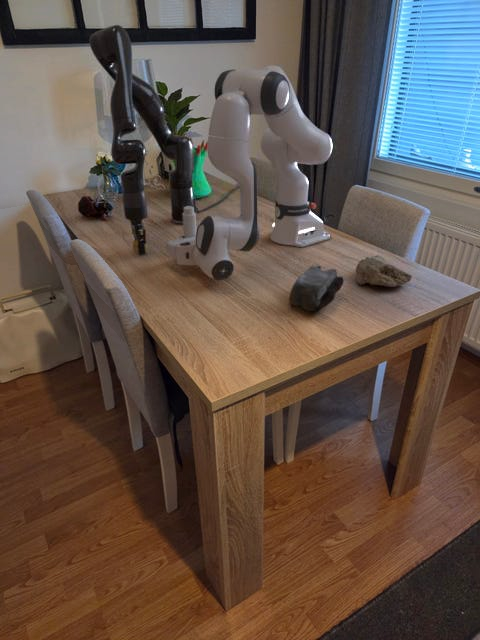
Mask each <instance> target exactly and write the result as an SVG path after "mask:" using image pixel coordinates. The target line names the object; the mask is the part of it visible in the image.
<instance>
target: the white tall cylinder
mask: <svg viewBox="0 0 480 640" xmlns="http://www.w3.org/2000/svg"><path fill="white" fill-rule="evenodd" d="M183 210H184V213H183V214H182V215H183V224H182V228H183V236H185V238H190V237H196V232H197V212H196V213H195V212H194V207H192V206H186V207H184V209H183Z"/></svg>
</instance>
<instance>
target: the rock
mask: <svg viewBox="0 0 480 640" xmlns="http://www.w3.org/2000/svg"><path fill="white" fill-rule="evenodd" d="M344 280H345V279H344V277H342V276H338V271H337V270H336V268H335V269H334V268H331V269H328V270H322V266H321V265H318V266H317V265H316V266H314V265H311V266H310V267H308V268H307V269H306V270H305V271H303V272H302V274H301V275H299V277H298V278H297V279H296V281H295V282H294V283H293V285H292V288H291V290H290V294H289V297H288V302H289V303H290V304H291V305H293V306H295V307H296V306H299V305H300V306H301V308H303V309H304V310H305V311H307V312H312V311H314V312H315V313H318V312H320V311H321V310H322V309H324V308H325V307H327V306H328V305H329V304H331V303H332V302H333V301H334V299H335V298H336V294H337V293H338V292H339V291H340V290H341V288H342V286H343V285H344Z"/></svg>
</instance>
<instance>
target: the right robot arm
mask: <svg viewBox="0 0 480 640" xmlns="http://www.w3.org/2000/svg"><path fill="white" fill-rule="evenodd" d="M213 91H214V98H215V102H214V104H213V108H212V112H211V116H210V121H209V127H208V136H207V142H208V145H207V157H208V159H209V162H210V163H211V165H212V166H213V167H214V168H215V169H217V170H218V171H219V172H221V173H223V174H224V175H226V176H228V177H230V178H231V179H233V180H234V181H235V182H236V183H237V185H238V186H239V187H240V188H239V200H240V204H239V205H240V214H239V216H238V217H233V216H221V215H220V216H219V215H218V216H216V215H207V216H206V217H204V218H203V219H202V220H201V222H200V223H199V224H198V225H197V227H196V230H197V232H196V237H190V238H185V236H184V235H180V236H179V239H177V238H176V239H172V240H167V241H166V242H165V252H166V254H167V256H169V257H170V258H171V259H172V260H175V261H176V262H177V264H178V266H179V265H180V266H196V267H199V269H200V270H202V272H203V273H204V274H205V276H206V275H207V276H208V277H209V278H210V279H212V280H215V281H223V280H227V279H228V278H229V277H230V276H232V274H233V273H234V271H235V265H234V262H233V260H232V259H231V257H230V254H229V251H237V252H247V253H248V252H250V251H251V250H252V249H254V248H255V246H256V245H257V244H258V243H259V240H260V226H259V219H258V175H257V173H258V172H257V168H256V165H255V163H254V162H253V161H251V158H250V152H249V142H250V141H249V140H250V129H251V123H250V122H251V115H256V116H257V115H259V116H261V115H262V116H263V117H264V120H265V122H266V124H267V126H268V127H267V128H266V129H265V130H264V132H263V133H262V136H261V139H260V149H261V152H262V154H263V155H264V156H265V158H267V159H268V161H269V162H270V164H271V166H272V168H273V170H274V173H275V178H276V200H275V203H274V222H273V223H272V227H273V228H272V232H271V235H270V240H271V241H272V242H274V243H276V244H279V245H284V246H293V247H294V246H295V247H297V248H304V247H307V246H311V245H314V244H317V243H321V242H324V241H327V240H330V234H329V233H328V232H327V231H325V225H324V224H325V223H327V218H328V217H330V216H331V217H332V218H336V215H335V214H334V213H332V212H331V213H327V214H325V215H324V216H322V219H321V218H320V217H319V216H317V215H316V214H315V213H314V212H312V210H315V209H317V203H314V202H310V201H308V199H309V186H310V185H309V184H310V183H309V180H308V177H307V175H305V174H304V173H303V172H302V171H301V170H300V169H299V167H298V164H302V165H307V166H311V165H323V164H325V163H326V162H327V161H328V160H329V158H330V157H331V154H332V151H333V141H332V138H331V136H330V135H329V134H328V133H327V132H325V131H323V130H322V129H320V128H318V127H317V126H316V125H315V124H314V123H312V122H311V120H310V119H309V118H308V117H307V115H306V114H305V113H304V112H303V110H302V108H301V105H300V103H299V101H298V98H297V96H296V92H295V90H294V87H293V85H292V83H291V81H290V79H289V77H288V75H287V74H286V72H285V71H284V70H283V68H281V67H280V66H278V65H273V64H272V65H271V64H270V65H267V66H265V67H262V68H261V69H256V68H255V69H254V68H251V69H237V70H236V69H228V70H225V71H222V72H221V73H220V74H219V76H218V77H217V79H216V81H215V83H214V89H213ZM311 209H312V210H311Z"/></svg>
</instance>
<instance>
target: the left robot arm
mask: <svg viewBox="0 0 480 640" xmlns="http://www.w3.org/2000/svg"><path fill="white" fill-rule="evenodd" d="M89 46H90V49H91V51H92V54H93V56H94V57H95V59H96V61H97V62H98V63H99V65H100V66H101V67H102V68H103V69H104V71H105V72H106V73H107V74H108V75H109V76H110V78H111V79H112V80H113V81H114V84H113V88H112V92H111V95H110V102H109V103H110V104H109V107H110V115H111V121H112V122H111V123H112V140H111V141H112V142H111V149H110V155H111V159H112V160H113V162H114V163H115V164H117V165H131V164H134V166H133V167H132V168H131V169H127V170H124V171H122V172H121V173H120V183H121V185H120V186H121V191H122V195H121V196H122V197H121V198H122V204H123V205H122V206H123V212H124V217H125V219H126V220H129V221H130V227H131V233H132V236H133V239H134V241H135V240H137V244H138V250H139V251H138V254H139V255H145V254H146V249H145V244H146V245H147V236H146V235H147V234H146V228H145V223H144V222H143V220H145V219H146V218H148V206H147V197H146V192H145V187H144V165H145V158H146V153H147V150H146V146H145V144H144V141H143V142H142V140H140V139H122V138H123V137H124V136H125V135H129V134H132V133H134V132H135V131H136V130H137V122H136V116H135V115H136V114H135V112H136V113H137V115H138V116H139V117H140V119H141V120H142V121H143V122H144V124H145V126H146V127H147V129H148V130H149V132H150V133H151V134H152V136H153V137H154V139H155V141H156V143H157V145H158V147H159V149H160V150H161V153H162V154H163V156H165V158H167V159H168V160H169V161H170V160H171V161H173V160H175V161H176V169H175V168H174V169H170V171H169V172H168V182H169V189H170V193H169V195H170V196H169V197H170V206H171V207H170V208H171V209H170V210H171V212H170V214H171V215H170V216H171V222H172V223H174V224H177V225H183V215H182V214H183V213H184V210H183V209H184V207H186V206H192V207H194V212H195V213H196V214H198V213H202V212H204V211H206V210H209V209H210V208H211V209H212V208H213V207H215V206H217V205H219V204H220V203H221V202H223V201H224V200H226V199H227V198H228V197H229V196H230V195H231V194H232V193H233V192H235V191H237V190H238V189H240V187H239V185H238V186H237V187H235V188H233V189H232V190H231V191H229V193H227V194H226V196H224V197H223V198H222V199H220V200H219V201H217V202H216V203H213V204H211V205H209V206H207V207H205V208H203V209H202V210H201V209H200V210H199V208H198V207H197V205H196V199H195V197H194V196H193V181H192V174H193V170H194V149H195V148H194V149H193V145H194V142H193V143H192V141H193V140H192V141H191V139H190V138H191V137H189V136H185V135H178V134H175V133H173V131H172V130H171V129H170V127H169V126H168V124H167V123H166V119H165V107H164V104H163V102H162V100H161V98H160V97H159V95H158V93H157V92H156V90H155V89H154V87H153V86H151V84H149V83H148V82H146V81H145V80H143V78H140V77H139V76H137V75H135V74H134V73H133V49H132V42H131V39H130V36H129V34H128V32H127V30H126V29H125V28H124V27H123V26H122V25H119V24H114V25H110V26H107V27H105V28H103V29H100V30H97V31H95V32H94V33H91V35H90V36H89ZM140 240H143V241H140Z"/></svg>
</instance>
